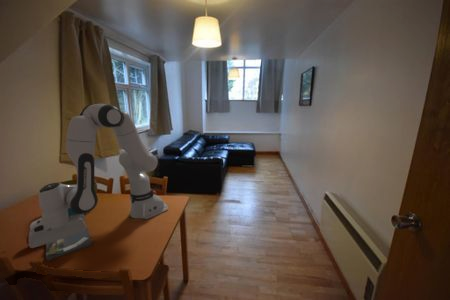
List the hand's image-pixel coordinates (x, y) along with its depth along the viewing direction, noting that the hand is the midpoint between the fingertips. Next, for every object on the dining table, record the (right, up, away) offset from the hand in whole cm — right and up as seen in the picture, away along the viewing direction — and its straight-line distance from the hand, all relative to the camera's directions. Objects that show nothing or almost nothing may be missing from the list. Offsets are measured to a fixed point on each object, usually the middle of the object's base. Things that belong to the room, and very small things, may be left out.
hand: (61, 246), depth 97 cm
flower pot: (-19, +7, +41) cm, 46 cm away
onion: (-16, -2, +5) cm, 17 cm away
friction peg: (-4, 0, +4) cm, 5 cm away
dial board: (-1, -1, +6) cm, 6 cm away
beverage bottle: (-8, +2, +22) cm, 24 cm away
